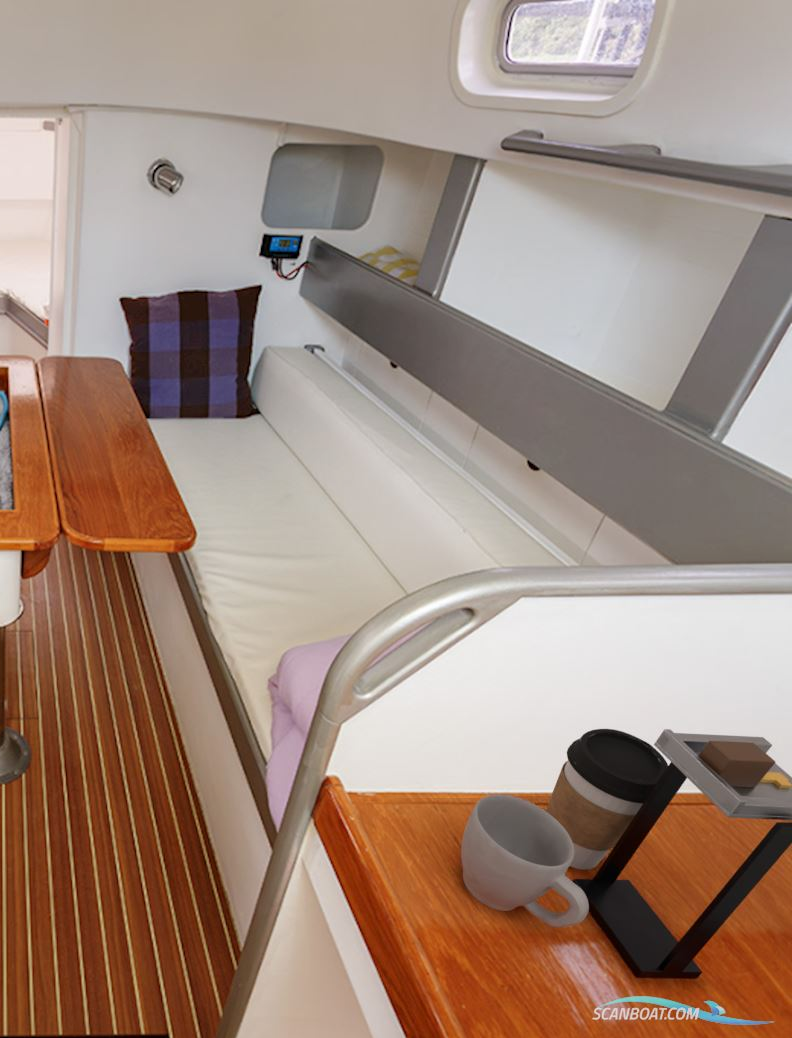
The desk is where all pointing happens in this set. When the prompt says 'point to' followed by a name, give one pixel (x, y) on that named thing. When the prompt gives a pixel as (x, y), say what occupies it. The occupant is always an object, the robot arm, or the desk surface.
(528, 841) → the mug
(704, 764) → the silver letter tray
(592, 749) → the coffee cup
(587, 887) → the stand
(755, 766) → the key
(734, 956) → the desk surface
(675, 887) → the desk surface
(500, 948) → the desk surface
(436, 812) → the desk surface
